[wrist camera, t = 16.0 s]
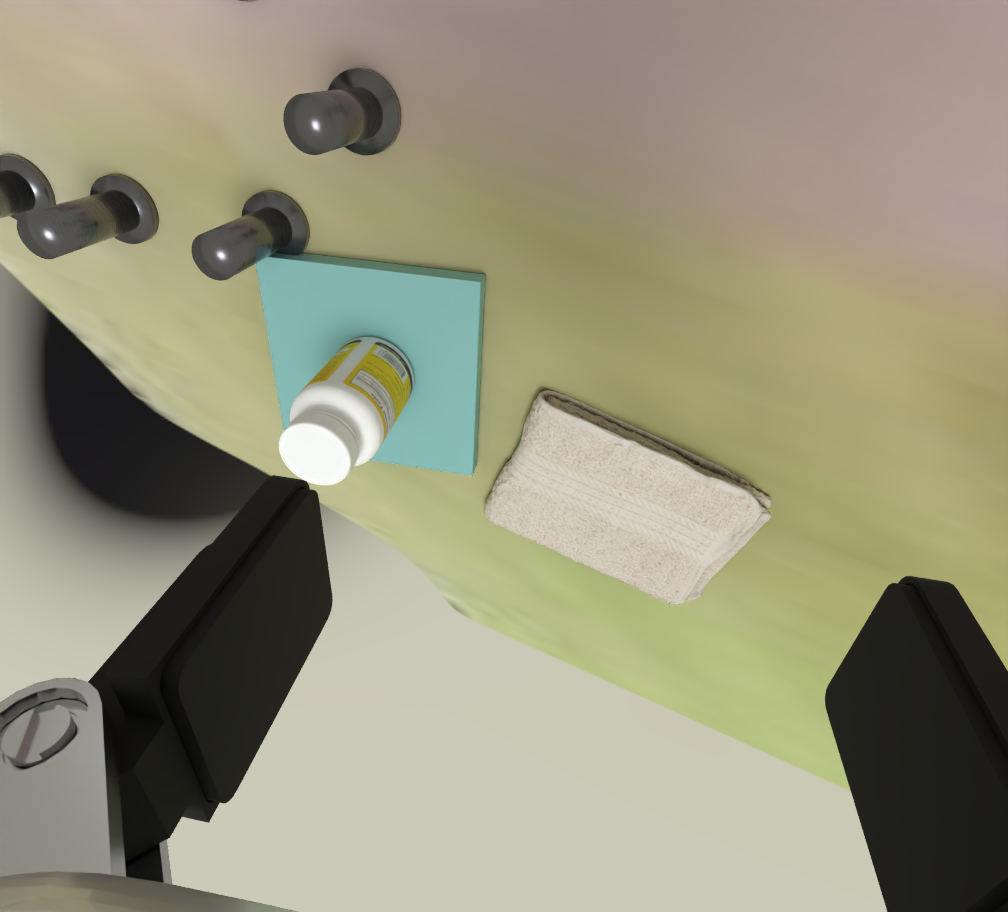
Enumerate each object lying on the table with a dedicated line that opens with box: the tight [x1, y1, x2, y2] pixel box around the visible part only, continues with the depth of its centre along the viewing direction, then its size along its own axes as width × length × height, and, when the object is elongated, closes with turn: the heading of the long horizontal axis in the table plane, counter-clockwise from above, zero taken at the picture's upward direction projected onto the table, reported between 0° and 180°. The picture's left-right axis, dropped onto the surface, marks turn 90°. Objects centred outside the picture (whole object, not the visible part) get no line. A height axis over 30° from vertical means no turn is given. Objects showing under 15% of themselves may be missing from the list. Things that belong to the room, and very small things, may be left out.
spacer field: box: [0, 0, 401, 280], centre depth 31 cm, size 17×27×7 cm, turn 86°
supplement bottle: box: [279, 337, 414, 485], centre depth 36 cm, size 5×5×10 cm
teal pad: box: [256, 253, 485, 476], centre depth 40 cm, size 14×14×2 cm
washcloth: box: [484, 390, 771, 604], centre depth 43 cm, size 12×18×3 cm, turn 68°
